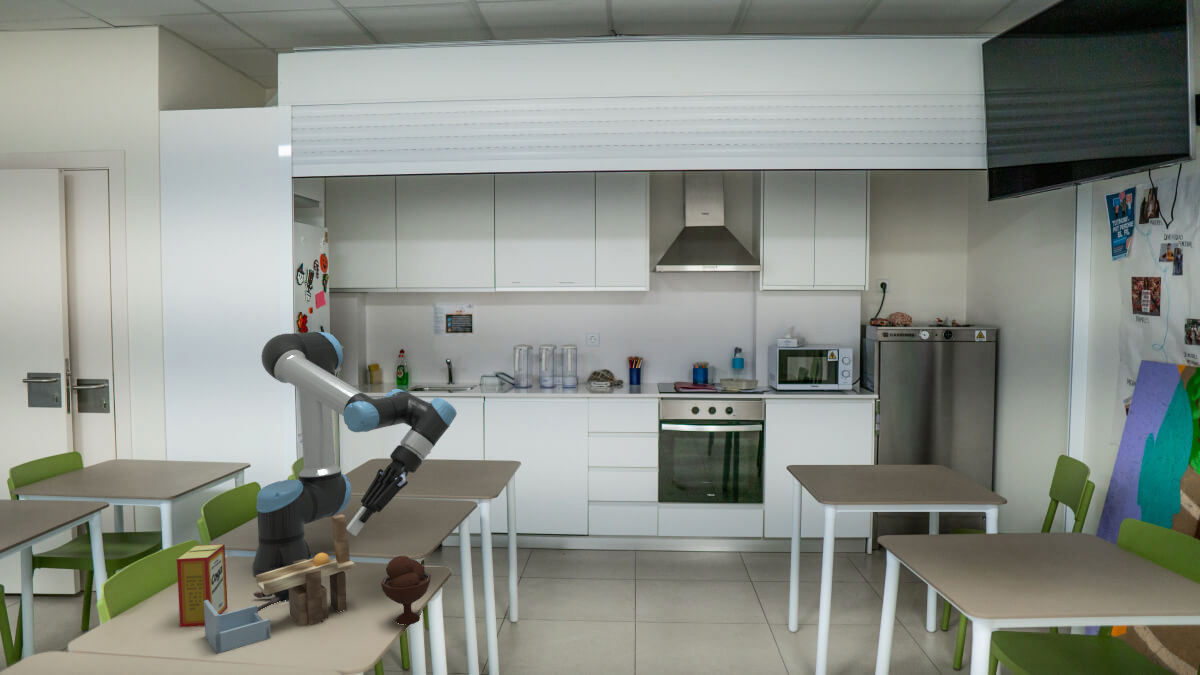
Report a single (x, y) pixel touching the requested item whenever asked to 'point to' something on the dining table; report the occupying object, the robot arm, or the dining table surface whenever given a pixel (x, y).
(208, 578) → the baking soda box
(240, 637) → the bin
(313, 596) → the stand
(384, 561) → the dining table surface
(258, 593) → the stuffed animal
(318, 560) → the ball
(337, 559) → the lever
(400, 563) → the ice cream bowl
